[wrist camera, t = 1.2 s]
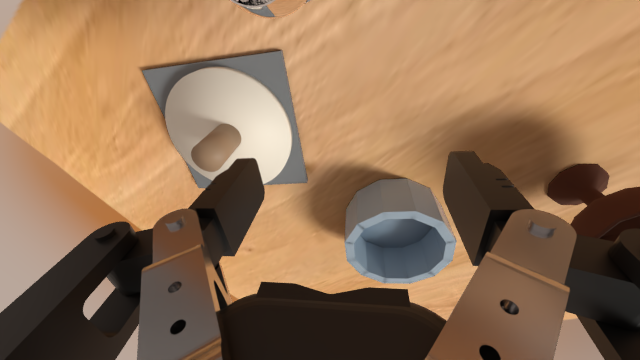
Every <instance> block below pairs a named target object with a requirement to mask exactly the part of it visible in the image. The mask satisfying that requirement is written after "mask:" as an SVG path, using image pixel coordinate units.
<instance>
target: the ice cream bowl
mask: <svg viewBox="0 0 640 360" xmlns="http://www.w3.org/2000/svg"><path fill="white" fill-rule="evenodd" d="M608 180H609V175H608V173H607V172H606V171H605V170H604V169H603V168H601V167H600V166H599V165H598V164H579V165H576V166H574V167H572V168H569V169H567V170H564V171H562V172H560V173H559V174H558V175H557V176H556V177H555V178H554V179H553V180H552V182H551V183H550V184H549V188H548V196H549V197H550V198H551V199H553V200H554V201H555V202H557V203H559V204H561V205H579V204H581V203H585V204H586V205H587V207H586V208H585V209H583V210H582V211H581V212H580V213H579V214H578V215H577V216H575V217H574V219H573V221H572V223H571V226H572V227H573V228H574V230H575V231H576V234H579V235H583V236H588V237H593V238H598V239H603V240H608V241H613V242H615V241H616V239H617V238H618V236H619V235H620V234H621V232H623V231H624V230H627V229H640V187H634V188H626V189H623V190H620V191H618V192H615V193H612V194H609V195H607V196H605V195H603V194H602V193H601V192H602V191H604V190H605V189H606V188H607V184H608Z"/></svg>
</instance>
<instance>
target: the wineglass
mask: <svg viewBox="0 0 640 360" xmlns="http://www.w3.org/2000/svg"><path fill="white" fill-rule="evenodd" d="M229 1H230V2H232V3H233V4H234V5H236V6H237V7H239V8H240V9H242V10H243V11H245V12H247V13H250V14H252V15H255V16H258V17H262V18H270V19H274V18H282V17H285V16H288V15H290V14H292V13H294V12H295V11H297V10H298V9H299V8H300V7H301V6H303V4H306V3H308V2H310V1H311V0H229Z"/></svg>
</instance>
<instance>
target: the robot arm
mask: <svg viewBox="0 0 640 360" xmlns="http://www.w3.org/2000/svg"><path fill="white" fill-rule="evenodd" d="M264 194H265V192H264V185H263V182H262V178H261V174H260V171H259V167H258V163H257V161H256V159H255V158H238V159H236V160H235V161H234V162H233V164H232V165H231V166H230V167H229V168H228V170H225V171H224V172H222V173H220V174H219V175H217V176H216V177H215V178H214V180H213V181H212V182H211V184H209V185H208V186H207V188H206V189H205V190H204V191H203V192H202V193H201V194H200V196H199V197H198V198H197V199H196V200H195V201H194V202H193V204H192V205H191V206H190V207H189V208H188V209H180V210H176V211H173V212H171V213H169V214H167V215H165V216H164V217H162V218H161V219H160V220H159V221H158V222H157V223H156V224H155V225H154V227H153V228H152V229H148V230H143V231H139V232H135V231H134V230H133V228H132V227H131V226H130V224H129V223H127V222H115V223H111V224H108V225H106V226H104V227H101V228H100V229H98V230H96V231H94V232H93V233H91V234H90V235H89V236H88V237H87V238H85V239H84V240H83V241H82V242H81V243H80V244H79V245H78V246H76V247H75V248H74V249H73V250H72V251H71V252H69V253H68V254H67V255H66V256H65V257H64V258H63V259H61V260H60V261H59V262H58V263H57V264H56V265H55V266H53V267H52V268H51V269H50V270H49V271H48V272H47V273H46V274H44V275H43V276H42V277H41V278H40V279H39V280H38V281H36V282H35V283H34V284H33V285H32V286H31V287H30V288H29V289H27V290H26V291H25V292H24V293H23V294H22V295H21V296H19V297H18V298H17V299H16V300H15V301H14V302H12V303H11V304H10V305H9V306H8V307H7V308H6V309H4V310H3V311H2V312H1V313H0V360H115V359H116V358H117V356H118V355H119V353H120V352H121V350H122V349H123V347H124V346H125V344H126V342H127V341H128V339H129V338H130V336H131V335H132V333H133V332H134V330H135V329H136V327H137V326H138V324H139V332H138V351H137V360H553V358H554V354H555V350H556V346H557V342H558V337H559V333H560V330H561V325H562V321H563V317H564V313H565V311H566V312H570V313H573V314H576V315H577V317H578V318H579V320H580V321H581V323H582V325H583V326H584V328H585V329H586V331H587V333H588V334H589V336H590V337H591V339H592V340H593V342H594V343H595V345H596V347H597V348H598V350H599V351H600V353H601V355H602V356H603V357H604V359H605V360H640V229H627V230H624V231H623V232H621V234H620V235H619V236H618V238H617V239H616V241H615V242H613V241H608V240H603V239H598V238H593V237H588V236H583V235H579V234H576V231H575V230H574V228H573V227H572V226H571V225H570V224H569V223H567V222H566V221H565V220H563V219H561V218H559V217H558V216H555V215H553V214H550V213H548V212H544V211H540V210H535V209H534V208H533V207H532V206H531V205H530V203H529V202H528V201H527V200H526V199H525V198H524V196H523V195H522V194H521V193H520V192H519V191H518V190H517V188H516V187H514V185H513V184H512V183H511V182H510V180H508V178H507V177H506V176H505V175H504V173H503V172H502V171H501V170H499V169H498V168H496V167H494V166H492V165H491V164H489V163H483V162H482V161H481V160H480V159H479V157H478V156H477V155H476V154H475V152H474V151H456V152H450V154H449V157H448V162H447V168H446V173H445V179H444V184H443V196H444V200H445V203H446V205H447V207H448V210H449V212H450V214H451V216H452V219H453V221H454V223H455V226H456V228H457V230H458V233H459V235H460V237H461V239H462V242H463V244H464V246H465V249H466V251H467V253H468V255H469V258H470V260H471V262H472V265H473V266H478V268H477V270H476V272H475V273H474V275H473V277H472V279H471V280H470V282H469V284H468V285H467V287H466V289H465V291H464V292H463V294H462V296H461V298H460V299H459V301H458V303H457V305H456V306H455V308H454V310H453V312H452V313H451V315H450V317H449V319H448V320H447V321H446V320H445V319H443V318H442V317H440V316H439V315H437V314H436V313H434V312H432V311H430V310H428V309H427V308H424V307H422V306H420V305H417V304H414V303H411V302H410V301H409V295H408V289H389V288H363V289H358V290H352V291H347V292H342V293H336V294H326V293H323V292H320V291H317V290H314V289H310V288H307V287H304V286H301V285H298V284H293V283H274V282H261V284H260V287H259V290H258V292H257V294H253V295H249V296H246V297H244V298H241V299H239V300H237V301H235V302H233V303H232V300H231V296H230V293H229V290H228V286H227V283H226V280H225V276H224V273H223V269H222V266H221V264H220V262H219V261H220V259H221V257H222V256H235V254H236V252H237V250H238V248H239V247H240V245H241V243H242V241H243V239H244V237H245V235H246V233H247V231H248V229H249V227H250V225H251V223H252V221H253V219H254V218H255V216H256V214H257V212H258V210H259V208H260V206H261V204H262V202H263V200H264ZM106 277H107V278H108V279H109V281H110V282H111V283H112V284H113V285H114V286H115V287H116V288H115V290H114V291H113V292H112V293H111V294H110V295H109V297H108V298H107V299H106V300H105V302H104V303H103V304H102V305H101V307H100V308H99V309H98V310H97V311H96V312H95V314H94V315H93V316H92V317H91V319H90V320H88V319H87V318H86V317H85V316H84V314H83V305H84V303H85V300H86V299H87V298H88V297H89V296H90V294H91V293H92V292H93V291H94V290H95V289H96V288H97V286H98V285H99V284H100V283H101V282H102V281H103V280H104V279H105V278H106Z"/></svg>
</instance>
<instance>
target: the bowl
mask: <svg viewBox="0 0 640 360" xmlns="http://www.w3.org/2000/svg"><path fill="white" fill-rule="evenodd" d="M455 245H456V239H455V236H454V234H453V232H452V229H451V227H450V225H449V222H448V220H447V217H446V215H445V213H444V210H443V208H442V206H441V204H440V203H439V201H438V200H437V198H436V197H435V195H434V194H433V192H432V191H431V189H430V188H428V187H426V186H424V185H421V184H419V183H416V182H414V181H412V180H409V179H407V178H404V179H384V180H378V181H376V182H374V183H372V184H370V185H368V186H366V187H364V188H363V189H361V190H359V191H357V192H356V194H355V195H354V197H353V199H352V200H351V202H350V203H349V205H348V207H347V208H346V223H345V248H346V257H347V261H348V262H349V263H350V264H351V265H352V266H353V267H354V268H355V269H356V270H357V271H358V272H359V273H360V274H361V275H363V276H366V277H368V278H371V279H374V280H377V281H380V282H382V283H409V284H410V283H413V282H417V281H420V280H423V279H426V278H429V277H433V276H435V275H436V274H437V273H439V272H440V271H441V270H442V269H443V268H444V267H446V266H447V265H448V264H449V263H450V262H451V261H452V259H453V255H454V250H455Z"/></svg>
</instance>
